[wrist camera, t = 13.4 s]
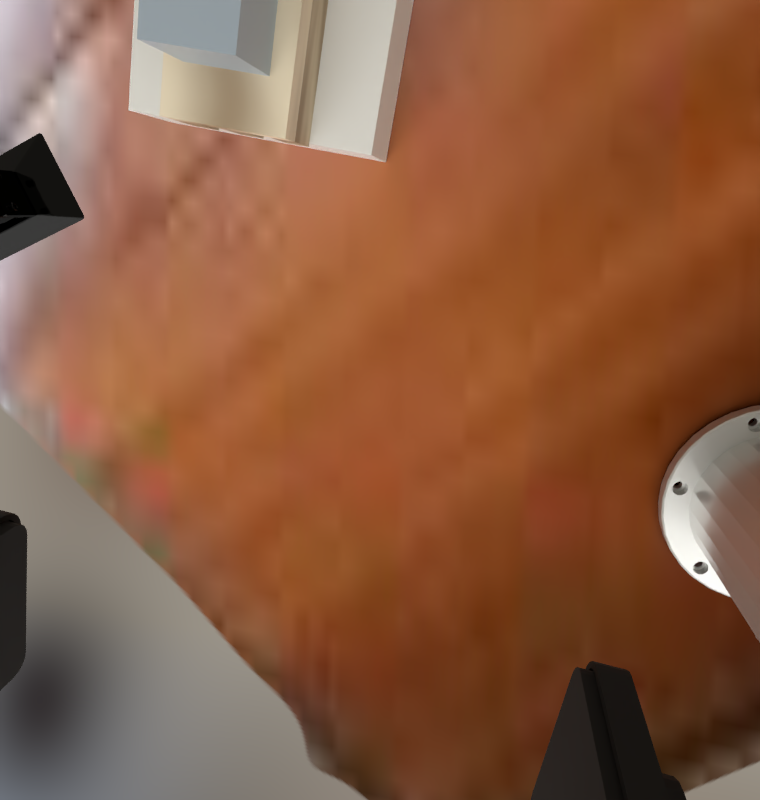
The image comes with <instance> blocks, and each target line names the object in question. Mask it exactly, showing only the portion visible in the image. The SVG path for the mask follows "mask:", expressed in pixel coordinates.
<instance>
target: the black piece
mask: <svg viewBox="0 0 760 800" xmlns="http://www.w3.org/2000/svg"><path fill="white" fill-rule="evenodd" d="M82 219H84V215H83V213H82V211H81V209H80V207H79V205H78V203H77V201H76V199H75V197H74V196H73V194H72V192H71V190H70V188H69V186H68V184H67V182H66V180H65V178H64V176H63V174H62V172H61V170H60V168H59V166H58V164H57V163H56V161H55V159H54V157H53V155H52V153H51V151H50V149H49V147H48V145H47V143H46V141H45V139H44V137H43V135H42V134H40V133H39V134H37V135H35V136H34V137H32V138H30V139H28V140H27V141H25V142H23V143H21V144H20V145H18V146H16V147H14V148H13V149H11V150H9V151H8V152H6V153H4V154H2V155H1V156H0V260H2V259H4V258H6V257H8V256H10V255H12V254H14V253H16V252H18V251H20V250H22V249H24V248H26V247H28V246H30V245H32V244H34V243H36V242H38V241H40V240H42V239H44V238H46V237H48V236H50V235H52V234H54V233H56V232H58V231H60V230H62V229H64V228H66V227H68V226H70V225H73V224H75V223H77V222H79V221H81V220H82Z"/></svg>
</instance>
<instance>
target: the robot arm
mask: <svg viewBox="0 0 760 800" xmlns="http://www.w3.org/2000/svg"><path fill="white" fill-rule="evenodd" d="M753 418H754V421H753V423H751V424H748V422H749V421H750V420H751V419H753ZM677 482H680V483H679V485H677V486H673V485H674V484H675V483H677ZM658 514H659V522H660V526H661V530H662V533H663V536H664V538H665V540H666V542H667V544H668V547H669V549H670V551H671V552H672V554H673V555H674V557H675V558H676V560H677V561H678V562H679V564H680V565H681V566H682V567H683V568H684V570H685V571H686V572H687V573H688V574H689V575H690V576H692V577H693V578H694V579H696V580H697V581H699V582H700V583H702V584H703V585H705V586H706V587H708V588H709V589H712V590H714V591H716V592H719V593H721V594H723V595H726V596H728V597H731V598H732V599H733V601H734V602H735V604H736V606H737V607H738V609H739V610H740V612H741V613H742V615H743V617H744V618H745V620H746V621H747V623H748V624H749V626H750V628H751V629H752V631H753V632H754V634H755V636H756V637H757V639H758V640H759V642H760V405H756V406H751V407H748V408H744V409H741V410H738V411H735V412H731V413H729V414H727V415H725V416H723V417H721V418H719V419H717V420H715V421H713V422H711V423H710V424H708V425H707V426H705V427H704V428H703V429H701V430H700V431H698V432H697V433H696V434H694V435H693V436H692V437H691V438H690V439H689V440H688V441H687V442H686V443H685V444H684V445H683V446H682V447H681V449H680V450H679V451H678V452H677V454H676V455H675V457H674V458H673V460H672V461H671V463H670V464H669V466H668V468H667V471H666V473H665V476H664V478H663V481H662V483H661V488H660V493H659V499H658ZM697 562H699V563H697ZM26 574H27V530H26V528H25V526H23V525H21V523H20V519H19V517H18V516H17V515H15V514H13V513H9V512H5V511H1V510H0V690H1V689H2V688H3V687H4V686H5V685H6V684H7V683H8V682H10V681H11V680H12V678H14V676H15V675H16V674H17V673H18V671H19V669H20V668H21V666H22V664H23V662H24V658H25V653H26V579H27V577H26V576H27V575H26ZM531 800H686V797H685V794H684V792H683V789H682V787H681V785H680V783H679V781H678V780H677V779H676V778H675V777H674V776H670V775H666V774H663V773H661V769H660V766H659V763H658V760H657V757H656V753H655V750H654V747H653V744H652V741H651V737H650V734H649V731H648V728H647V724H646V721H645V718H644V715H643V712H642V708H641V705H640V702H639V699H638V696H637V692H636V689H635V686H634V683H633V679H632V676H631V674H630V672H629V671H627V670H625V669H621V668H617V667H613V666H609V665H606V664H602V663H598V662H594V661H591V662H589V664H588V665H587V667H586V669H582V668H578V667H577V668H575V670H574V672H573V674H572V677H571V680H570V683H569V686H568V689H567V692H566V695H565V698H564V701H563V704H562V707H561V710H560V713H559V716H558V719H557V722H556V724H555V727H554V730H553V733H552V736H551V739H550V742H549V745H548V748H547V751H546V754H545V757H544V760H543V763H542V766H541V769H540V772H539V775H538V778H537V781H536V784H535V787H534V790H533V793H532V797H531Z"/></svg>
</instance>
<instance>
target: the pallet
mask: <svg viewBox="0 0 760 800" xmlns="http://www.w3.org/2000/svg"><path fill="white" fill-rule="evenodd" d="M327 7H328V0H278V5H277V14H276V23H275V32H274V41H273V50H272V59H271V68H270V76H265V75H259V74H253V73H247V72H241V71H235V70H229V69H223V68H218V67H212V66H206V65H200V64H194V63H188V62H183V61H181V60H179V59H177V58H175V57H173V56H171V55H169V54H167V53H165V52H164V53H163V68H162V83H161V98H160V113H159V116H162V117H165V118H169V119H172V120H176V121H179V122H183V123H186V124H190V125H193V126H196V127H202V128H207V129H213V130H218V131H219V128H220V129H224V130H228V131H231V132H234V133H237V134H241V135H246V136H251V137H257V138H262V139H263V138H264V137H270V138H273V139H276V140H279V141H282V142H285V143H289V144H295V145H300V146H306V147H309V141H310V134H311V126H312V119H313V111H314V104H315V96H316V89H317V82H318V74H319V67H320V59H321V52H322V44H323V37H324V29H325V22H326V14H327Z"/></svg>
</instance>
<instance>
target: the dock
mask: <svg viewBox="0 0 760 800" xmlns="http://www.w3.org/2000/svg"><path fill="white" fill-rule="evenodd" d="M413 3H414V0H328V7H327V14H326V22H325V29H324V37H323V44H322V52H321V59H320V67H319V74H318V82H317V89H316V96H315V104H314V111H313V119H312V126H311V134H310V141H309V147H306V146H301V147H306V148H312V149H317V150H323V151H328V152H333V153H339V154H344V155H349V156H355V157H360V158H366V159H371V160H376V161H382V162H386V159H387V153H388V148H389V142H390V136H391V130H392V124H393V119H394V113H395V107H396V101H397V95H398V90H399V84H400V78H401V72H402V66H403V61H404V55H405V49H406V43H407V37H408V32H409V26H410V20H411V14H412V8H413ZM138 9H139V0H135V1H134V19H133V38H132V56H131V74H130V93H129V111H133V112H136V113H140V114H144V115H147V116H151V117H154V118H158V119H162V120H165V121H169V122H172V123H177V124H183V125H188V126H193V125H190V124H186V123H183V122H179V121H176V120H172V119H169V118H165V117H162V116H159V113H160V98H161V83H162V68H163V53H164V52H163V51H160V50H158V49H156V48H154V47H152V46H150V45H148V44H146V43H144V42H142V41H140V40H138V39H137V28H138ZM194 127H196V126H194ZM199 128H202V127H199ZM204 129H207V128H204ZM210 130H213V129H210ZM215 131H218V130H215ZM219 131H220V132H226V133H231V134H237V133H234V132H231V131H228V130H224V129H220V128H219ZM237 135H241V134H237ZM242 136H246V135H242ZM247 137H251V136H247ZM253 138H257V137H253ZM258 139H262V138H258ZM263 140H269V141H274V142H280V143H285V142H282V141H279V140H276V139H273V138H270V137H264V138H263ZM285 144H289V143H285ZM290 145H295V144H290ZM296 146H300V145H296Z"/></svg>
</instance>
